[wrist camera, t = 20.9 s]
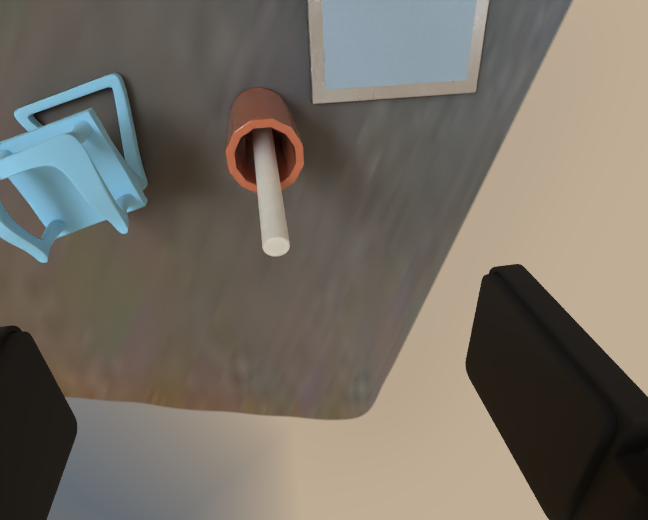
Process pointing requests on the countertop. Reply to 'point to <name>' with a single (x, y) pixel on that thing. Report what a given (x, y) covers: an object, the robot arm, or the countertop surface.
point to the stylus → (269, 194)
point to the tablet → (393, 48)
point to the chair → (72, 169)
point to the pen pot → (261, 113)
